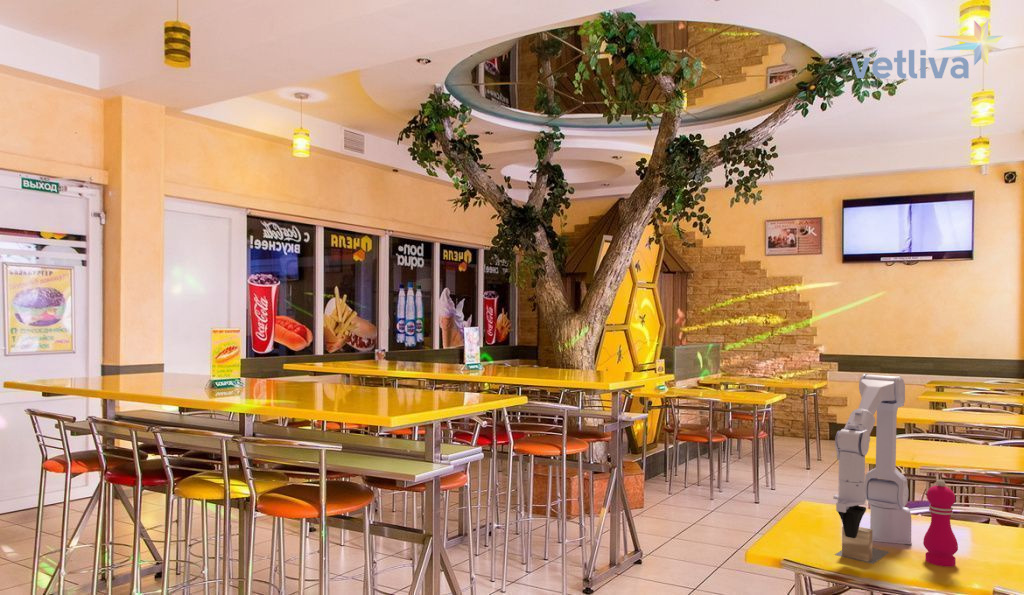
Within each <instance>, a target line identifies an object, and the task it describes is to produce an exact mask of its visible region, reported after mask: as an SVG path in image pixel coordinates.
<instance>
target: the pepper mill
mask: <svg viewBox="0 0 1024 595" xmlns="http://www.w3.org/2000/svg"><path fill="white" fill-rule="evenodd" d="M926 499H927V501H928V502H929V503H930V504H929V505H928V507H929V508H928V511H929V512H930V517H931V518H930V525H929V527H928V529H927V531H926V532H925V534H924V536H923V541H922V542H923V547H924V548H925V549H926V552H925V562H927V563H929V564H932V565H934V566H939V567H940V566H941V567H948V568H949V567H950V568H951V567H955V566H956V563H957V562H956V557H955V556H954V555H955V554H956V553H957V552H958V550H959V549H958V548H959V546H958V545H959V544H958V541H957V538H956V536H955V533H954V531H953V528H952V525H951V516H952V515H953V514H954V512H953V510H954V509H953V507H952V506H953V505H954V504H955V502H956V496H955V492H954V491H953V489H951V488H949V487H948V486H946V482H945V480H944V479H937V481H936V485H933V486H931V487H929V488H928V490H927V492H926Z"/></svg>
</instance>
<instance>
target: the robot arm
mask: <svg viewBox="0 0 1024 595" xmlns="http://www.w3.org/2000/svg"><path fill="white" fill-rule="evenodd" d="M858 391H859V394H860V396H861V399H860V402H859V405H858V408H856V409H854V410H852V411H851V413H850V415H849V417H848V419H847V421H846V423H845V426H844V427H843V428H841V430H838V431H837V432H836V435H835V436H834V438H835V439H834V447H835V451H836V452H835V453H836V459H837V460H838V494H835V495H833V496H832V497H833V498H832V499H833V500H837V502H836V504H835V506H836V507H835V511H836V512H837V514H838V515H839V517H840V520H841V523H842V527H843V528H844V532H845V536H846V537H850V538H856V536H857V533H858V529H859V527H860V524H861V522H862V519H863V516H864V515H865V513H866V511H867V508H866V507H865V506H863V505H865V504H866V501H867V502H868V505H870V512H869V514H870V516H869V517H870V519H869V520H870V523H869V524H870V527H869V529H873V534H872V542H877V543H878V542H879V543H888V544H889V543H890V544H900V545H913V542H912V514H911V510H910V508H909V507H906V506H907V504H908V500H909V486H908V480H907V477H906V475H904V474H903V473H902V472H901V471H899V470H898V469H897V467H896V464H897V463H896V461H897V460H896V459H897V419H898V418H897V414H898V408H901V407H904V405H905V402H906V401H905V400H906V385H905V381H904V378H903V377H902V376H900V375H897V376H893V375H880V374H879V375H878V374H868V373H863V374H862V375H861V377H860V378H859V382H858ZM875 413H876V418H875V416H874V415H875ZM875 423H876V432H875V433H876V436H875V437H876V438H875V440H876V441H875V467H874V468H872V469H871V470H869V471H867V472H865V471H866V467H865V466H866V455H867V454H868V452H869V450H870V449H869V448H870V442H871V433H872V431H873V428H874V426H875Z"/></svg>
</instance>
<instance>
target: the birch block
mask: <svg viewBox="0 0 1024 595" xmlns="http://www.w3.org/2000/svg"><path fill="white" fill-rule="evenodd" d="M872 534H873V529H870V528H868V527H863V526H859V529H858V533H857V536H856V538H850V537H846V536H845V532H844V528H843V526H842V527H841V550H842V555H843V556H847V557H851V558H855V559H860V560H864V561H869V560H871V559H872V548H873V541H872Z"/></svg>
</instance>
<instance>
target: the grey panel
mask: <svg viewBox="0 0 1024 595" xmlns="http://www.w3.org/2000/svg"><path fill="white" fill-rule="evenodd" d="M889 553H890V551H888V550H884V549H879V548H874V547H872V559H871V560H869V561H864V560H860V559H855V558H851V557H847V556H843V555H842V549H841V550H840V551H838V552H836V553H835V554H834V556H838V557H842V558H845V559H846V558H847V559H851V560H854V561H858V562H863V563H868V564H872V565H874V564H875V563H877V562H879V560H881V559H883V558H884V557H885V556H887V555H888V554H889Z"/></svg>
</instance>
